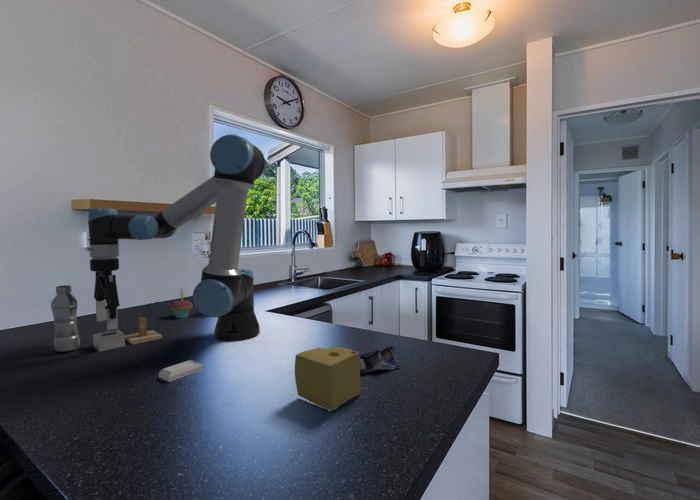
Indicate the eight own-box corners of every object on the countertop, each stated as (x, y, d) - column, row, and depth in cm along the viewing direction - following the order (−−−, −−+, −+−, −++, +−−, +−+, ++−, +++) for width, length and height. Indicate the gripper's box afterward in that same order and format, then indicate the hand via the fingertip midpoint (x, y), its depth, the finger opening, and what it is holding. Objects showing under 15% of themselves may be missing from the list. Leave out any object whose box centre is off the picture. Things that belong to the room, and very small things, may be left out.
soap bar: (159, 379, 89) (158, 369, 89) (192, 367, 97) (192, 358, 97) (169, 384, 87) (168, 373, 86) (203, 372, 94) (203, 362, 94)
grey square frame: (125, 346, 114) (124, 333, 114) (98, 351, 109) (98, 338, 109) (119, 341, 119) (118, 329, 119) (93, 346, 114) (93, 334, 114)
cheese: (327, 383, 86) (326, 341, 85) (363, 396, 79) (362, 351, 78) (294, 399, 78) (293, 354, 77) (331, 415, 71) (330, 366, 70)
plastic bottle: (66, 354, 107) (62, 288, 106) (47, 353, 108) (43, 287, 107) (86, 347, 113) (82, 284, 112) (68, 346, 114) (64, 284, 113)
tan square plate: (162, 338, 122) (161, 317, 122) (132, 344, 116) (131, 323, 115) (153, 332, 129) (152, 313, 128) (124, 338, 122) (123, 318, 122)
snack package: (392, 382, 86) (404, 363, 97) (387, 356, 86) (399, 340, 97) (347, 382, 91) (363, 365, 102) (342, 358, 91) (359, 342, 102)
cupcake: (172, 315, 155) (171, 287, 154) (194, 313, 157) (193, 286, 156) (169, 320, 146) (168, 291, 146) (191, 318, 149) (190, 289, 148)
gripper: (81, 256, 118) (84, 319, 120) (99, 261, 101) (102, 335, 103) (108, 255, 124) (110, 315, 125) (129, 260, 107) (132, 330, 108)
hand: (106, 324), depth 114 cm, fingers open, 13 cm apart
